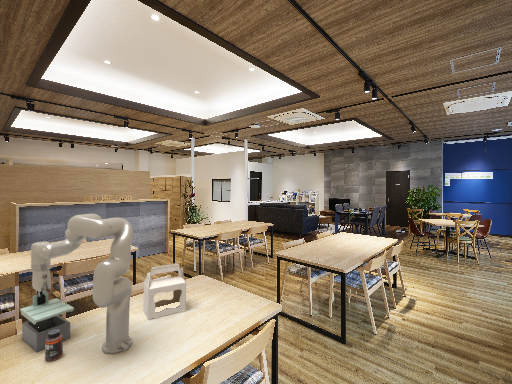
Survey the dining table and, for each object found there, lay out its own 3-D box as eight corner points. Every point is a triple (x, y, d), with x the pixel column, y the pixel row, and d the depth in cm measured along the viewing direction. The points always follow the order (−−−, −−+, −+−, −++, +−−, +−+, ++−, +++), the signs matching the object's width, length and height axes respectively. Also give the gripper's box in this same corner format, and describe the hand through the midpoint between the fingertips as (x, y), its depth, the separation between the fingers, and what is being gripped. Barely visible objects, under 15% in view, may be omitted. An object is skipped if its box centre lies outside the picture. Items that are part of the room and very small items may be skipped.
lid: (73, 312, 125) (74, 297, 125) (35, 325, 113) (35, 309, 113) (56, 302, 136) (56, 288, 136) (19, 313, 124) (20, 298, 124)
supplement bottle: (60, 351, 116) (60, 326, 116) (64, 356, 112) (64, 331, 112) (43, 357, 111) (43, 331, 111) (46, 363, 107) (47, 336, 107)
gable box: (147, 320, 145) (148, 270, 144) (142, 311, 155) (143, 264, 155) (186, 310, 157) (187, 264, 157) (179, 302, 168) (180, 259, 168)
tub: (69, 338, 125) (70, 322, 125) (36, 352, 114) (36, 334, 114) (54, 327, 135) (54, 312, 135) (22, 339, 124) (22, 322, 124)
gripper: (56, 267, 128) (56, 304, 128) (44, 262, 136) (43, 297, 136) (37, 271, 121) (37, 310, 122) (25, 266, 130) (25, 302, 130)
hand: (40, 303), depth 129 cm, fingers closed on lid, 1 cm apart
